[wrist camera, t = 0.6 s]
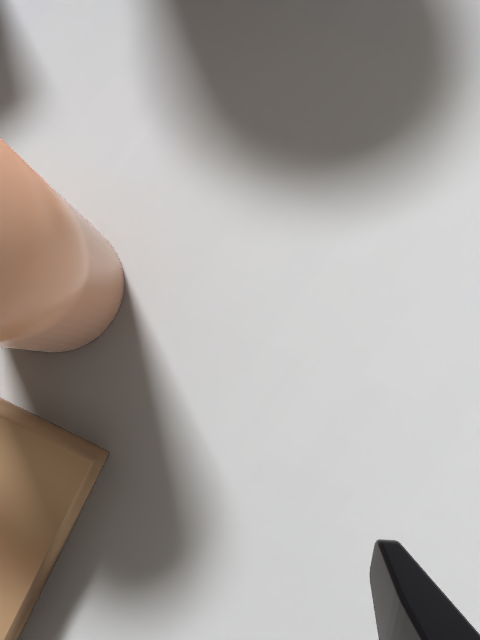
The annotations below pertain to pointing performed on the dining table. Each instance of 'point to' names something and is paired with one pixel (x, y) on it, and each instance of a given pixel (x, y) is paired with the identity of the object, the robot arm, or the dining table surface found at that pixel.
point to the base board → (37, 505)
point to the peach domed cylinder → (50, 266)
